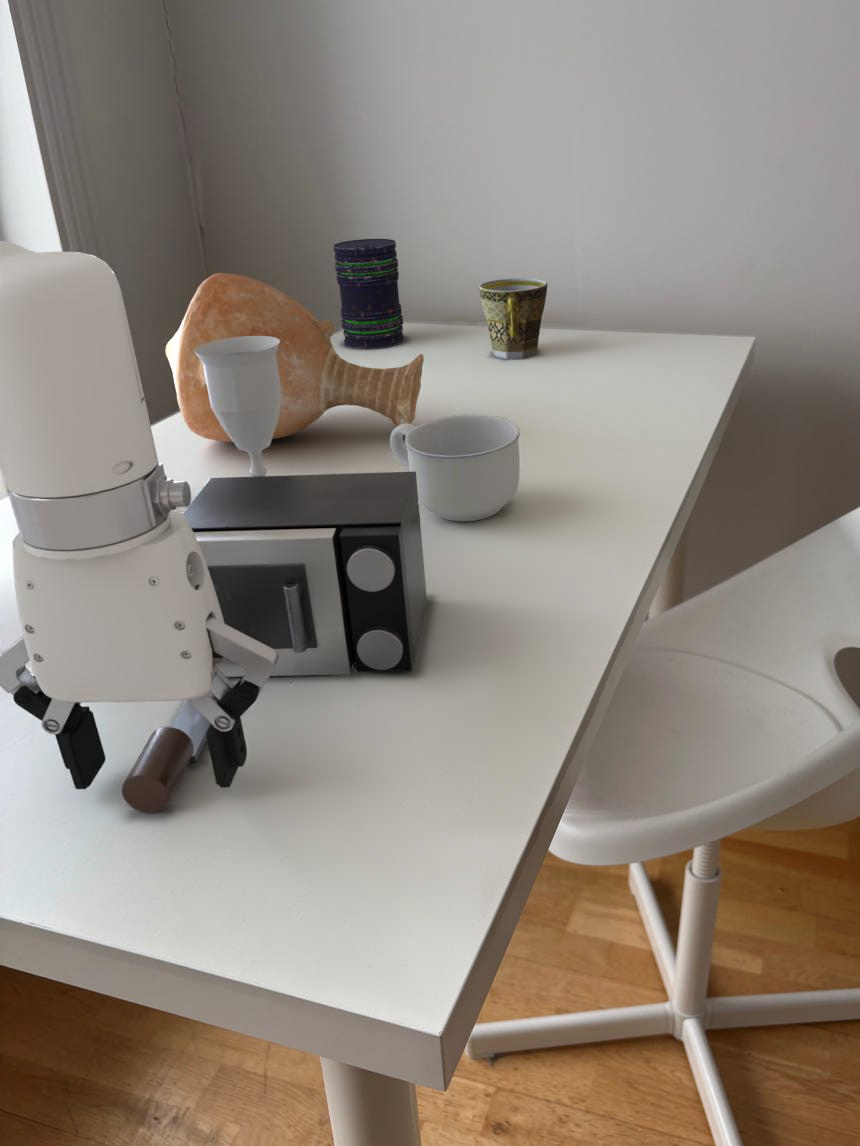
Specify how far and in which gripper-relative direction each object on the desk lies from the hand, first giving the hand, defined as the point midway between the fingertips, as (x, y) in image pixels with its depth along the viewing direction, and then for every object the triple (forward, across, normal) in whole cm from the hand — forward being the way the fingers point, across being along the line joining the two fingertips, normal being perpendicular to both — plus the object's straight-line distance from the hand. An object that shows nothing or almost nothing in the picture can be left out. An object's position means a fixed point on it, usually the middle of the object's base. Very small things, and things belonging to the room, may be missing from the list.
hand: (160, 773), depth 62 cm
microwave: (+1, -6, -18) cm, 19 cm away
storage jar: (+1, +3, -116) cm, 117 cm away
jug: (+1, +5, -68) cm, 68 cm away
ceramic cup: (+1, -20, -104) cm, 105 cm away
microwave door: (+1, -4, -13) cm, 13 cm away
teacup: (+1, -15, -44) cm, 47 cm away
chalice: (+1, +2, -38) cm, 38 cm away
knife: (+1, 0, -4) cm, 4 cm away
